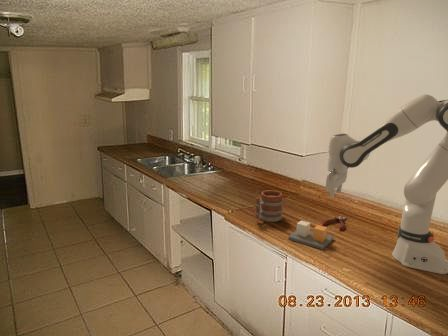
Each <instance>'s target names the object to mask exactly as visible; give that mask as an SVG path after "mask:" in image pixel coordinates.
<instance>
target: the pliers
mask: <svg viewBox="0 0 448 336" xmlns="http://www.w3.org/2000/svg"><path fill="white" fill-rule="evenodd" d="M346 218H347V216H343V217H342V214H341V215H340V216H338V217H336V216H335V217H334V218H330V219H326V220H324V221H323V222H322V225H321V226H324V227H326V225H329V224H332V223H333V224H335V223H340V227H339V232H341V231H343V230H344V229H345V228H346V225H345V221H346Z"/></svg>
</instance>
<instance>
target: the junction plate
mask: <svg viewBox="0 0 448 336" xmlns="http://www.w3.org/2000/svg"><path fill="white" fill-rule="evenodd" d="M313 231H314V230H311V222H307V221H305V220H300V221H298V222H296V230H295V231H294V232H292V233H291V234H289V235H288V238H287V239H288V240H290V241H293V242H297V243H300V244H303V245H307V246H309V247H313V248H315V249H319V250H324V249H326V247H328V245H329V244H330V243H332V241H333V240H334V236H332V235H329V234H327V237H326V239H325V240H324V241H323V242H320V241H317V240H313Z"/></svg>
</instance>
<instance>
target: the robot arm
mask: <svg viewBox="0 0 448 336" xmlns="http://www.w3.org/2000/svg"><path fill="white" fill-rule="evenodd" d="M433 121H436V122H438V123H439V125H440V126H441V127H442V128H443V129H444V130H445V131H446V134H445V136H443V138H442V140H440V141H439V143H438V144H437V145H436V147H435V148H434V149H433V150H432V151H431V153H430V154H429V155H428V157H426V159H425V160H424V161H423V162H422V164H421V165H420V166H419V167H418V168H417V169H416V170H415V172H414V173H413V175H412V176H411V177H410V178H409V179H408V181H407V182H405V184H404V187H403V195H404V197H405V202H404V205H403V207H402V213H401V214H402V215H401V220H400V221H401V222H400V225H399V226H398V230H397V241H396V245H395V247H394V249H393V251H392V254H391V255H392V257H393V258H394V259H395V260H397V261H398V262H400V263H401V265H402V266H403V267H407V268H411V269H416V270H420V271H425V272H430V273H435V274H440V275H445V274H448V260H447V259H446V254H445V251H444V249H443V248H441V247H440V246H439V244H437V243H436V242H435V241H434V239H435V238H434V236H435V235H434V232H431V231H430V228H431V227H430V226H431V221H432V215H433V210H434V206H435V202H436V197H437V194H438V192H439V191H440V189H442V187H443V186H444V185H445V184H446V183H447V181H448V99H444V100H439V101H438V100H437V99H436V98H435V97H434V96H432V95H430V94H423V95H420V96H418V97H415V98H414V99H412V100H409V101H408V102H407V103H405V104H404V105H402V106H401V107H399V108H398V109H397V110H395V111H394V112H393V113H392V114H391V115H390V116H389V117H388V118H386V120H385V121H384V122H383V123H382V124H380V126H379V127H378V128H377V129H376V130H375V131H373V132H372V133H371V134H369V135H367V136H366V137H365V138H363V139H361V140H360V141H359V140H357V139H355V138H353V137H351V136H349V134H347V133H338V134H334V135H331V137H330V139H329V143H328V144H329V145H328V159H327V171H328V172H329V173H328V174H326V182H325V190H327V191H328V192H329V198H331V199H333V198H335V190H336V193H341V192H342V187H343V184H344V183H345V182H346V181H347V179H348V178H347V177H348V169H349V168H356V167H358V166H360V165H361V164H362V163H363V162H364V161H366V160H367V159H368V157H369V156H370V154H371V153H372V152H373V151H375V150H376V149H377V148H380V147H381V146H382V145H383V144H386V143H388V142H390V141H392V140H395V139H398V138H401V137H403V136H405V135H408V134H410V133H412V132H414V131H416V130H417V129H419V128H420V127H422V126H424V125H425V124H427V123H429V122H433Z"/></svg>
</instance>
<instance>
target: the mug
mask: <svg viewBox="0 0 448 336" xmlns="http://www.w3.org/2000/svg"><path fill="white" fill-rule="evenodd" d="M283 203H284V200H283V193H282V191H279V190H275V189H274V190H270V189H268V190H267V189H266V190H263V191H262V192H261V195H260V198H259V197H256V198H255V205H254V206H255V211H254V216H255V218H256V219H261V220H262V221H263V222H264V221H265V222H272V223H276V222H280V221H281V220H282V219H283V217H284V216H283V214H282V213H283V207H282V205H283Z"/></svg>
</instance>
